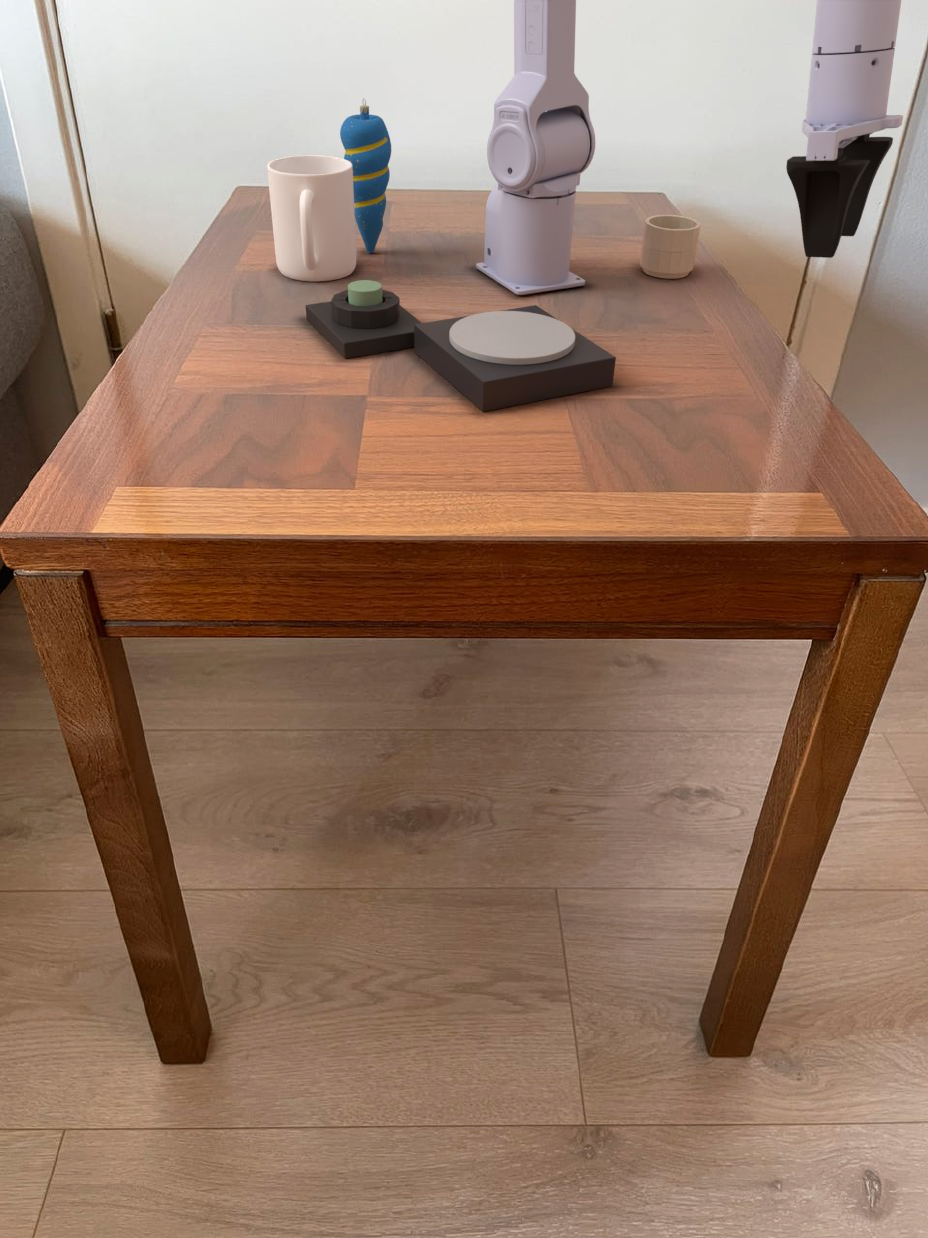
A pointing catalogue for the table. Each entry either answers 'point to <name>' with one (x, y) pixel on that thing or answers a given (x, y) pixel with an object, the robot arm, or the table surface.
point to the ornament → (368, 170)
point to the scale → (513, 357)
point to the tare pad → (363, 325)
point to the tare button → (365, 293)
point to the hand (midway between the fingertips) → (830, 245)
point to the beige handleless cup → (669, 246)
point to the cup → (313, 216)
